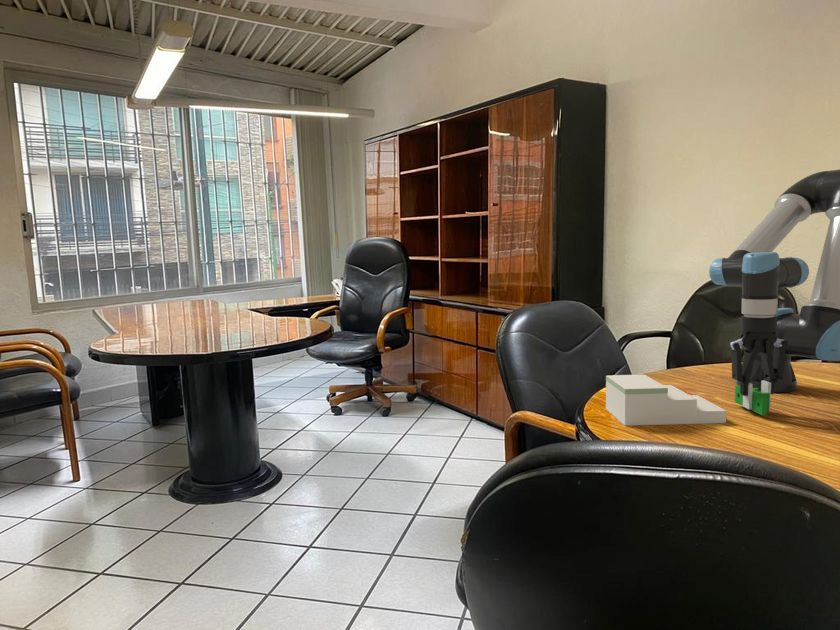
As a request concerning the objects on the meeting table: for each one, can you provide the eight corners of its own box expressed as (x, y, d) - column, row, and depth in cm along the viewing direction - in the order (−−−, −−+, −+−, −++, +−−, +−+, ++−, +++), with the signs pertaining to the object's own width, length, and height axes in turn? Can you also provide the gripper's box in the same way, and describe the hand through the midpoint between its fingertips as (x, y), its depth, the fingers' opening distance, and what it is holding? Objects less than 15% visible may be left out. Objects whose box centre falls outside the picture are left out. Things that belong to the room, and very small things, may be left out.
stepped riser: (696, 406, 143) (697, 372, 142) (725, 423, 129) (727, 386, 128) (605, 408, 144) (605, 375, 143) (624, 425, 130) (625, 389, 129)
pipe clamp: (777, 415, 131) (778, 396, 131) (761, 415, 131) (762, 397, 131) (748, 401, 142) (749, 384, 142) (734, 402, 142) (735, 385, 142)
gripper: (783, 311, 137) (780, 401, 140) (716, 315, 137) (714, 404, 140) (804, 315, 129) (800, 410, 132) (732, 319, 130) (730, 413, 133)
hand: (756, 407), depth 136 cm, fingers closed on pipe clamp, 4 cm apart
